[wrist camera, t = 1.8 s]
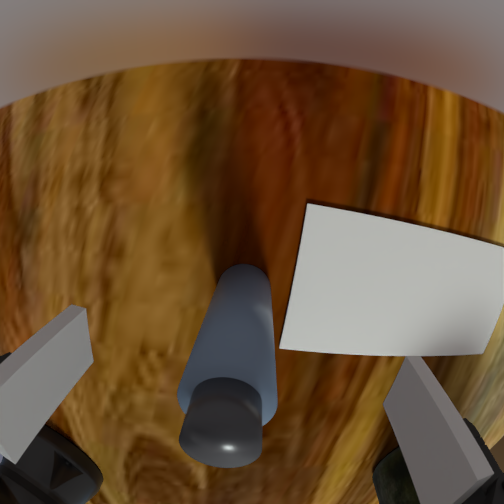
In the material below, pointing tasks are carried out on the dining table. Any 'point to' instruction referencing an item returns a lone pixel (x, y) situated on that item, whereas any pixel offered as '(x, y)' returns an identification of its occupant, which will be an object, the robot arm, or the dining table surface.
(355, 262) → the paper
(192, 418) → the marker
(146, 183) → the dining table surface
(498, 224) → the dining table surface
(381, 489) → the mug
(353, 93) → the dining table surface
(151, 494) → the dining table surface
